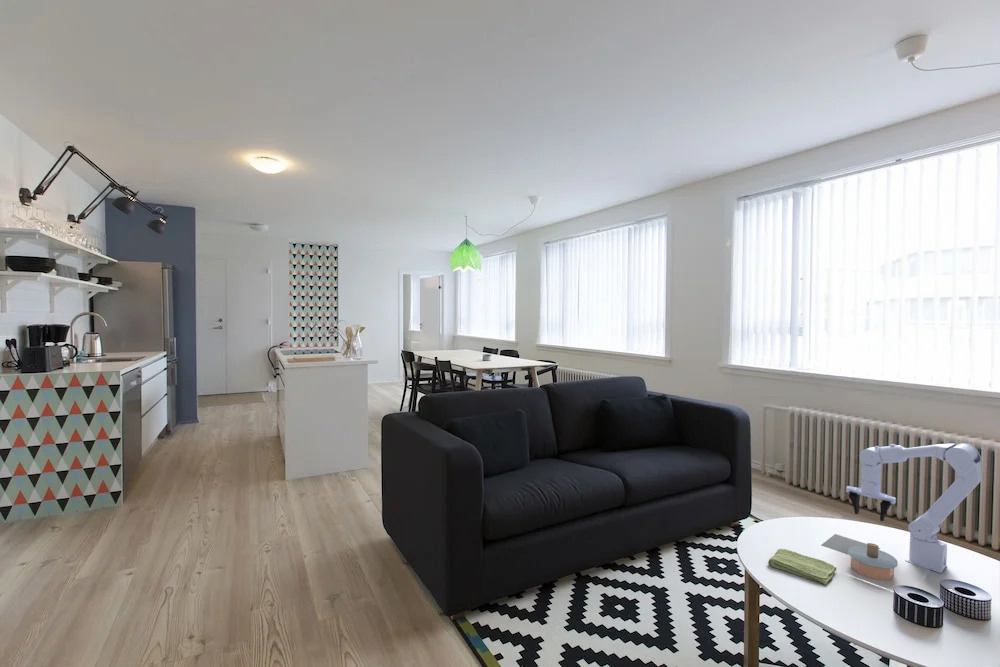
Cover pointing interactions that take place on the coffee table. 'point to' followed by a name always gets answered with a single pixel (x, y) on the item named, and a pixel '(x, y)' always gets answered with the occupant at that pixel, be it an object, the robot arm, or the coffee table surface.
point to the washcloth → (802, 566)
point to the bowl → (872, 570)
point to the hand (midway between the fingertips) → (869, 516)
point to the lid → (872, 556)
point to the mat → (842, 543)
